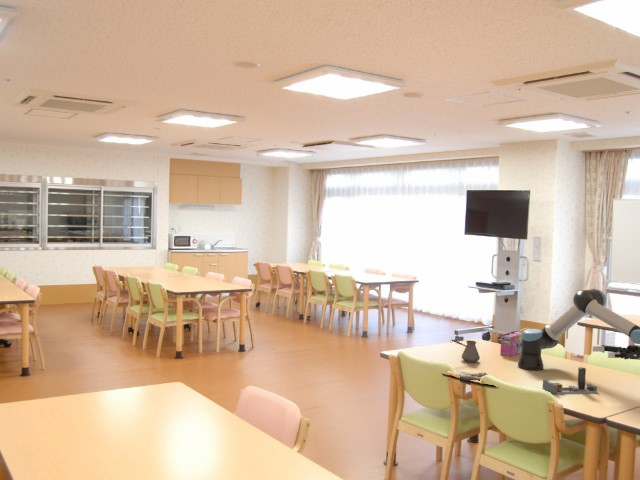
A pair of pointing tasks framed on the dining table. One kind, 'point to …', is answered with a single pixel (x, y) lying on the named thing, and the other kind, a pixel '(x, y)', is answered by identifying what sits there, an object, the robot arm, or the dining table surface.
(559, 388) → the walnut block
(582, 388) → the carriage
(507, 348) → the gum box
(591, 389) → the press bed
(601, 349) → the robot arm
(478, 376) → the elongated rock
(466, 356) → the coffee pot
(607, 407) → the dining table surface
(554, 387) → the anvil
